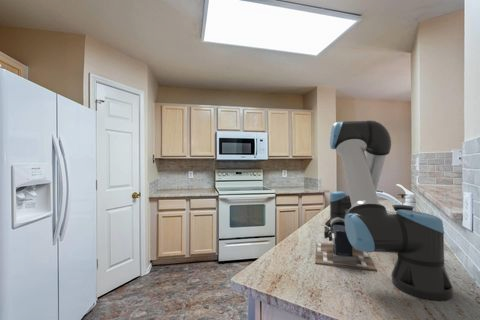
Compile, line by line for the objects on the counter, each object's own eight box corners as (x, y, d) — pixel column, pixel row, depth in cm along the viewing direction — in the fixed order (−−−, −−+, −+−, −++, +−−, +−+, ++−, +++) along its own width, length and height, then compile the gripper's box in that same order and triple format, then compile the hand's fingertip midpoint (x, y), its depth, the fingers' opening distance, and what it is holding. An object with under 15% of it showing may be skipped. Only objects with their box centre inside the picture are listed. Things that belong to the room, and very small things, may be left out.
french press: (388, 239, 119) (387, 194, 119) (393, 235, 125) (392, 192, 126) (417, 245, 110) (416, 196, 111) (421, 240, 117) (420, 194, 117)
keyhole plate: (376, 271, 85) (376, 261, 85) (315, 263, 92) (315, 254, 92) (365, 248, 107) (364, 240, 107) (316, 243, 114) (316, 236, 114)
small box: (353, 259, 90) (353, 232, 90) (335, 258, 92) (335, 230, 92) (349, 250, 100) (348, 225, 100) (332, 248, 102) (332, 224, 102)
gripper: (362, 236, 110) (372, 255, 88) (318, 233, 116) (317, 249, 94) (361, 220, 110) (371, 234, 88) (317, 217, 116) (316, 230, 94)
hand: (343, 242), depth 91 cm, fingers closed on small box, 6 cm apart
